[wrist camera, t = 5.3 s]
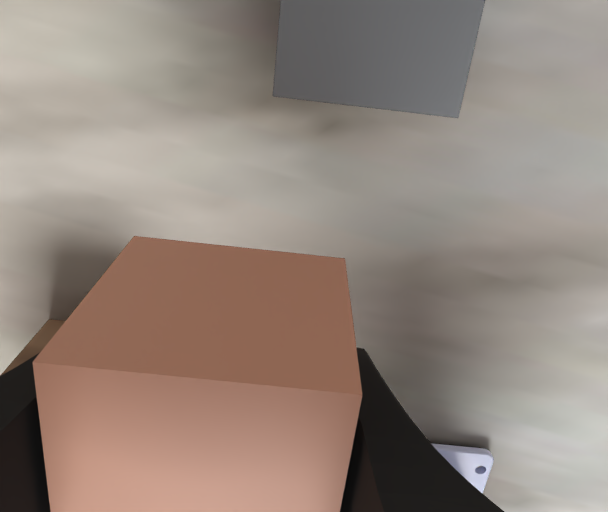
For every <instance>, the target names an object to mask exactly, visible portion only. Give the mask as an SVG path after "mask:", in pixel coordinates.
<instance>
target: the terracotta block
mask: <svg viewBox="0 0 608 512" xmlns="http://www.w3.org/2000/svg"><path fill="white" fill-rule="evenodd" d="M33 371H34V379H35V387H36V395H37V404H38V412H39V420H40V428H41V437H42V445H43V453H44V462H45V470H46V478H47V486H48V495H49V503H50V511H51V512H340V508H341V503H342V498H343V493H344V488H345V482H346V477H347V472H348V467H349V462H350V457H351V451H352V446H353V441H354V436H355V431H356V426H357V420H358V415H359V410H360V405H361V400H362V388H361V380H360V372H359V364H358V357H357V349H356V341H355V333H354V326H353V318H352V310H351V302H350V295H349V287H348V279H347V271H346V264H345V259H344V258H335V257H326V256H316V255H307V254H297V253H288V252H279V251H269V250H260V249H251V248H241V247H232V246H223V245H213V244H204V243H194V242H185V241H176V240H166V239H157V238H148V237H138V236H134V237H133V238H132V239H131V240H130V242H129V243H128V244H127V245H126V247H125V248H124V249H123V250H122V252H121V253H120V254H119V255H118V257H117V258H116V259H115V260H114V262H113V263H112V264H111V265H110V267H109V268H108V269H107V270H106V272H105V273H104V274H103V275H102V276H101V278H100V279H99V280H98V281H97V283H96V284H95V285H94V286H93V288H92V289H91V290H90V291H89V293H88V294H87V295H86V296H85V298H84V299H83V300H82V301H81V303H80V304H79V305H78V306H77V308H76V309H75V310H74V311H73V312H72V314H71V315H70V316H69V317H68V319H67V320H66V321H65V322H64V324H63V325H62V326H61V327H60V329H59V330H58V331H57V332H56V334H55V335H54V336H53V337H52V339H51V340H50V341H49V342H48V344H47V345H46V346H45V347H44V349H43V350H42V351H41V352H40V353H39V355H38V356H37V357H36V358H35V360H34V361H33Z"/></svg>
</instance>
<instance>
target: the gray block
mask: <svg viewBox="0 0 608 512" xmlns="http://www.w3.org/2000/svg"><path fill="white" fill-rule="evenodd" d="M484 3H485V0H281V5H280V17H279V28H278V40H277V52H276V63H275V75H274V87H273V96H275V97H283V98H292V99H300V100H308V101H317V102H325V103H334V104H342V105H351V106H359V107H367V108H376V109H384V110H393V111H401V112H410V113H418V114H427V115H435V116H443V117H452V118H458V117H459V113H460V108H461V104H462V100H463V95H464V91H465V86H466V82H467V78H468V73H469V69H470V64H471V60H472V56H473V51H474V47H475V43H476V38H477V34H478V29H479V25H480V21H481V16H482V12H483V8H484Z"/></svg>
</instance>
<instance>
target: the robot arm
mask: <svg viewBox="0 0 608 512" xmlns="http://www.w3.org/2000/svg"><path fill="white" fill-rule="evenodd" d="M356 349H357V357H358V364H359V372H360V380H361V388H362V400H361V405H360V410H359V415H358V420H357V426H356V431H355V436H354V441H353V446H352V451H351V457H350V462H349V467H348V472H347V477H346V482H345V488H344V493H343V498H342V503H341V508H340V512H504V511H503V510H501V509H500V508H499V507H498V506H496V505H495V504H494V503H493V502H492V501H490V500H489V499H488V498H487V497H486V496H485V495H483V491H484V488H485V485H486V482H487V479H488V476H489V474H490V471H491V468H492V465H493V461H494V459H493V456H492V454H491V452H490V451H489V450H487V449H484V448H473V447H463V446H453V445H443V444H432V443H430V442H429V441H428V440H427V438H426V437H425V436H424V435H423V434H422V432H421V431H420V430H419V429H418V427H417V426H416V425H415V424H414V422H413V421H412V420H411V418H410V417H409V416H408V414H407V413H406V412H405V410H404V409H403V408H402V406H401V405H400V403H399V402H398V401H397V399H396V398H395V396H394V395H393V394H392V392H391V391H390V389H389V388H388V386H387V384H386V383H385V381H384V380H383V378H382V377H381V375H380V373H379V372H378V370H377V369H376V367H375V365H374V364H373V362H372V360H371V358H370V357H369V355H368V353H367V352H366V351H365V350H364V349H361V348H356ZM38 355H39V353H38V354H37V355H35V356H33V357H32V358H30V359H28V360H27V361H25V362H24V363H22V364H20V365H19V366H17V367H15V368H13V369H12V370H10V371H8V372H6V373H5V374H3V375H1V376H0V512H51V511H50V503H49V495H48V486H47V478H46V470H45V462H44V453H43V445H42V437H41V428H40V420H39V412H38V404H37V395H36V387H35V379H34V371H33V361H34V360H35V358H36V357H37V356H38ZM478 466H481V467H479V468H476V467H478Z"/></svg>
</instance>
